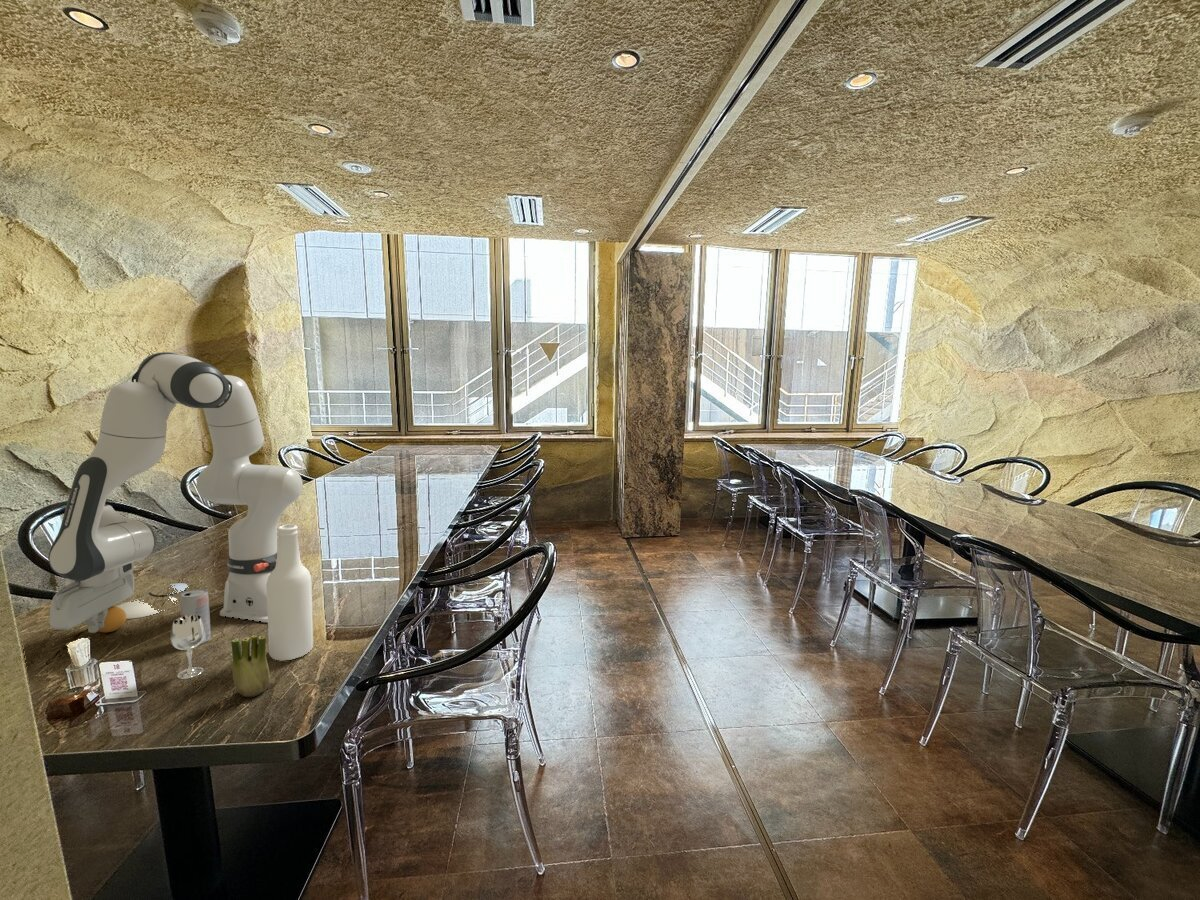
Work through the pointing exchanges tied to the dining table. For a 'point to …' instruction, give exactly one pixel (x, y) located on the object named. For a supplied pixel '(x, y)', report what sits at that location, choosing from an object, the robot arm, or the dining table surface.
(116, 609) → the ball
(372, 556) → the dining table surface
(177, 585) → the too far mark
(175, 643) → the wineglass
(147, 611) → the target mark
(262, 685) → the fennel bulb
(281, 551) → the white bottle
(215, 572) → the dining table surface
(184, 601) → the energy drink
